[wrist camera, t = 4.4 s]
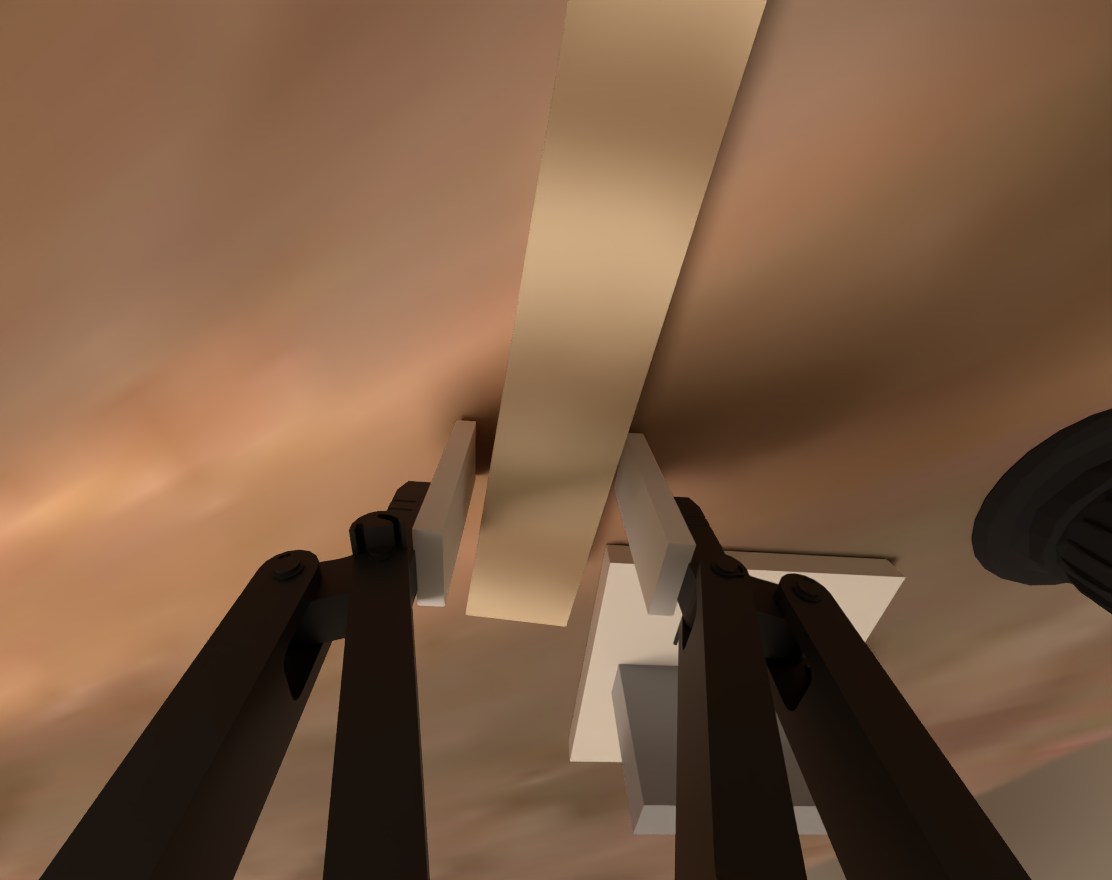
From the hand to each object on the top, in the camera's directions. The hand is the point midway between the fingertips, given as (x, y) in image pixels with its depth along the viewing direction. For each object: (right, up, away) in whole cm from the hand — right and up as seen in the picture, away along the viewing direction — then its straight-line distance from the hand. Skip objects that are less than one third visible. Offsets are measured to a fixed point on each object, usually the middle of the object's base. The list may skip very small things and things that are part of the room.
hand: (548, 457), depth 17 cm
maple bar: (+1, +4, -1) cm, 4 cm away
